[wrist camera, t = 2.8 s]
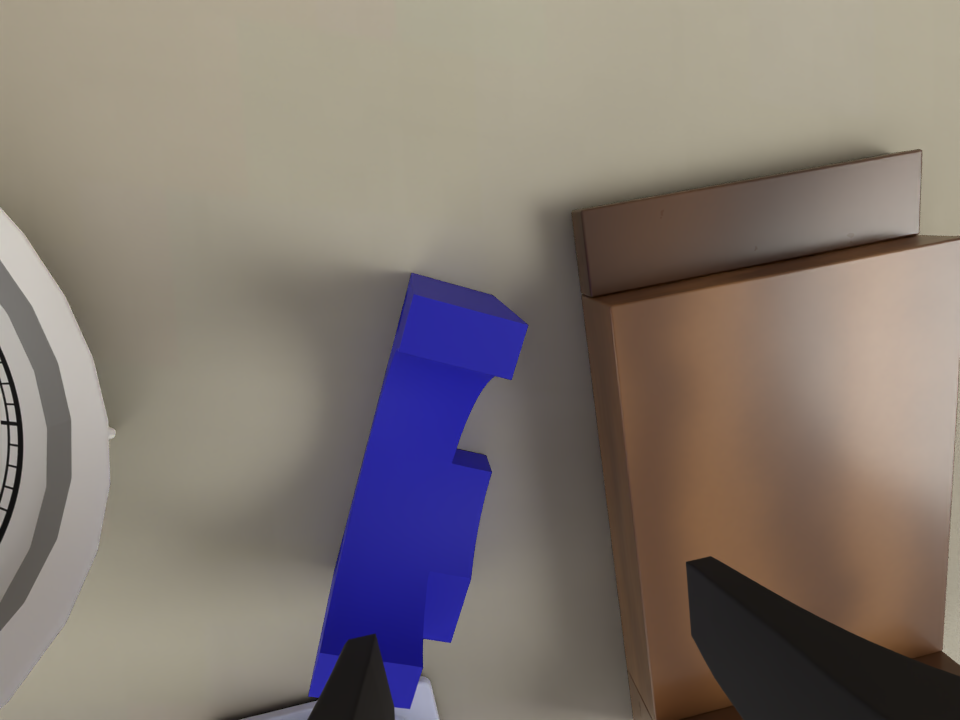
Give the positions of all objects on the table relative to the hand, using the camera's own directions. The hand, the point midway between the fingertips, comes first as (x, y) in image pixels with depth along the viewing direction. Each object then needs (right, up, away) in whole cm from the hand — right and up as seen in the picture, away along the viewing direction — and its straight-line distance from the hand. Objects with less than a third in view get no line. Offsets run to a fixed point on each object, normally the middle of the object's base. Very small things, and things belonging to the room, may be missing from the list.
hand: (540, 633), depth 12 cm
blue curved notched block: (-3, +3, +9) cm, 10 cm away
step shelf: (+10, +2, +11) cm, 15 cm away
